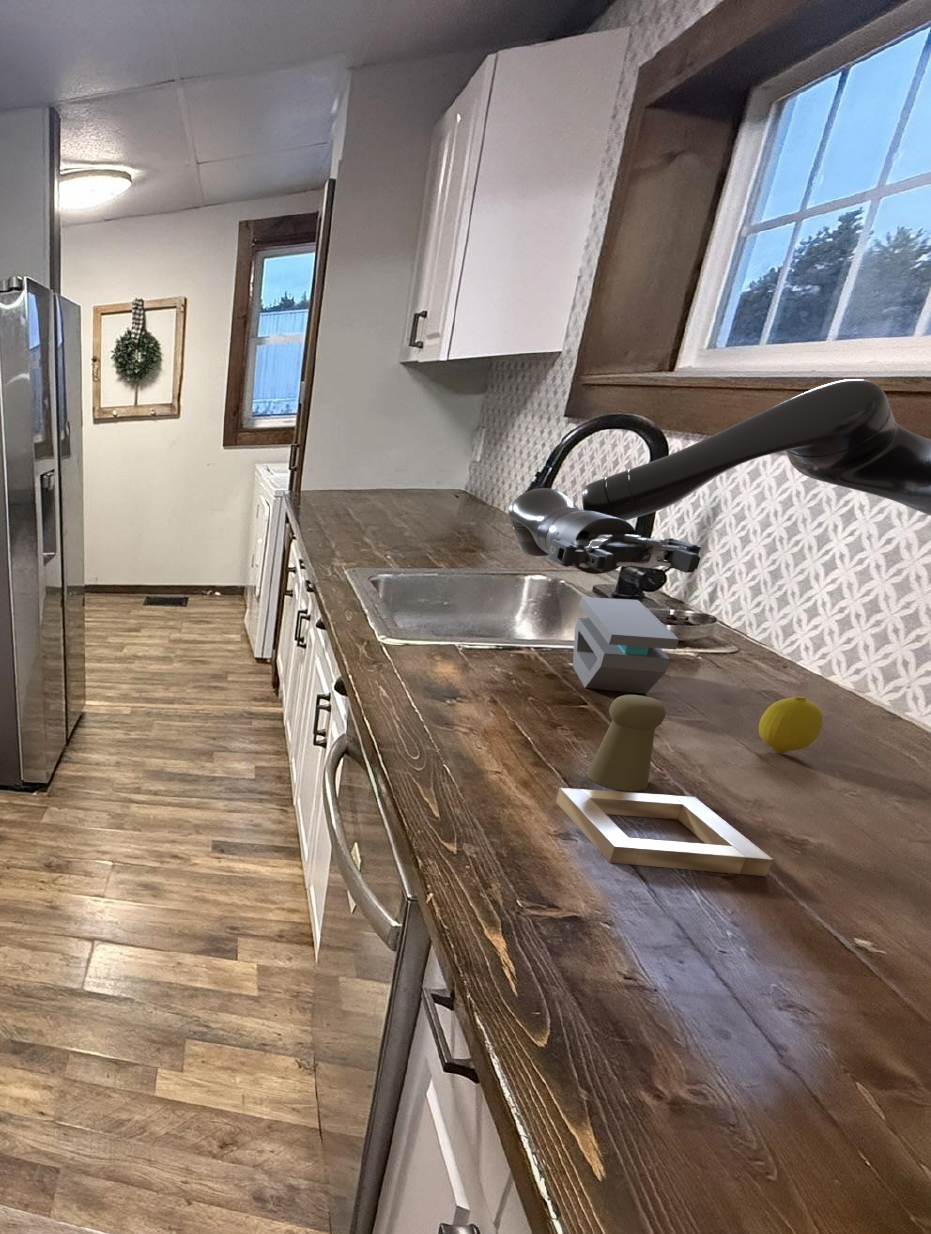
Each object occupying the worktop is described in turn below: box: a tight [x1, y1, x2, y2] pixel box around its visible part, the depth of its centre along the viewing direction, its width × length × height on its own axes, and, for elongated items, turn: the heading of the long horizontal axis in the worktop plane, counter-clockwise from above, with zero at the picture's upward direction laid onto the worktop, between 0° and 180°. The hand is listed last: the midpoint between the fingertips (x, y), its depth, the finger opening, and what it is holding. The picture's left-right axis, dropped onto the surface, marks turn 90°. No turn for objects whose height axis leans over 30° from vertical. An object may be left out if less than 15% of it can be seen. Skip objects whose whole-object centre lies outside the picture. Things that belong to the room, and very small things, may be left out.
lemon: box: [758, 695, 824, 754], centre depth 100 cm, size 6×6×8 cm
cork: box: [586, 694, 667, 792], centre depth 95 cm, size 6×6×11 cm
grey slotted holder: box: [572, 596, 680, 695], centre depth 126 cm, size 25×8×11 cm, turn 152°
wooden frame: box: [555, 787, 774, 877], centre depth 84 cm, size 13×13×2 cm
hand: (650, 563), depth 92 cm, fingers open, 8 cm apart
